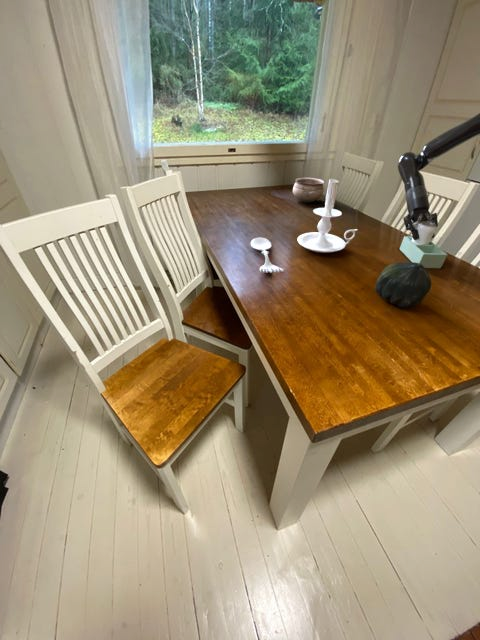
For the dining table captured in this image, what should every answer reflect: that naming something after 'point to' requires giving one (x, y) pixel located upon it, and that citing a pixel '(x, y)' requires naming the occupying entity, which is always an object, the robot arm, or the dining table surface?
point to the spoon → (263, 246)
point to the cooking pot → (308, 189)
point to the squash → (403, 284)
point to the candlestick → (325, 226)
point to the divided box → (423, 253)
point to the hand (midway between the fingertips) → (424, 238)
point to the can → (425, 233)
